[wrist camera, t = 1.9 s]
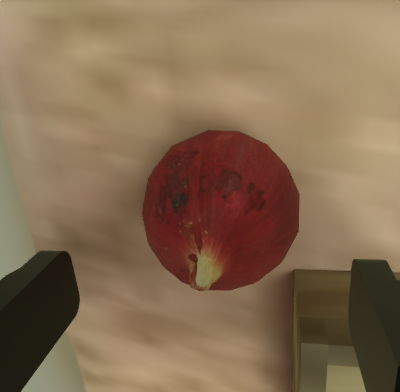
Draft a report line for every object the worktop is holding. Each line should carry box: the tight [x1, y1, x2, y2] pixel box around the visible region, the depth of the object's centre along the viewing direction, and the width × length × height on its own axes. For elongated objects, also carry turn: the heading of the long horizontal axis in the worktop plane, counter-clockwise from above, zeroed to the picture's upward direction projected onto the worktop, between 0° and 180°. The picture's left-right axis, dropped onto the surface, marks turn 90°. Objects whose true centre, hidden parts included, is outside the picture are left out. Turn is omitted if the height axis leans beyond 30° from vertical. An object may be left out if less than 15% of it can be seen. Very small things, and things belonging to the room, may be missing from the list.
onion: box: [142, 130, 299, 291], centre depth 14 cm, size 6×6×8 cm
